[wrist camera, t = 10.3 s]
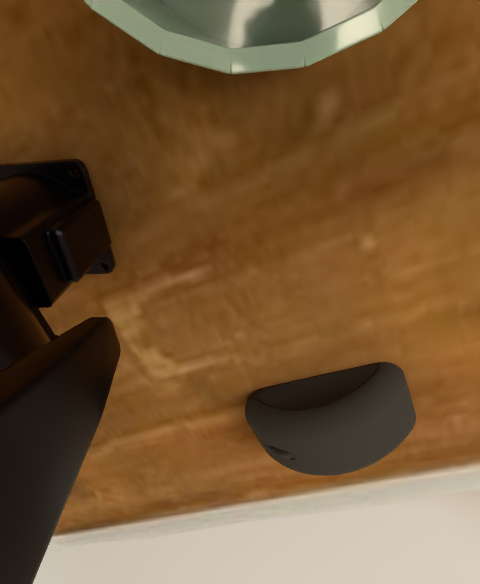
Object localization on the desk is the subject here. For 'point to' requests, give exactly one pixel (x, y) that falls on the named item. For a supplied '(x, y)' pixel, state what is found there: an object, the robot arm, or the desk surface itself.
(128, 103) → the desk surface
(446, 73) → the desk surface
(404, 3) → the pen pot
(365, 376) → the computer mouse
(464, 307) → the desk surface
